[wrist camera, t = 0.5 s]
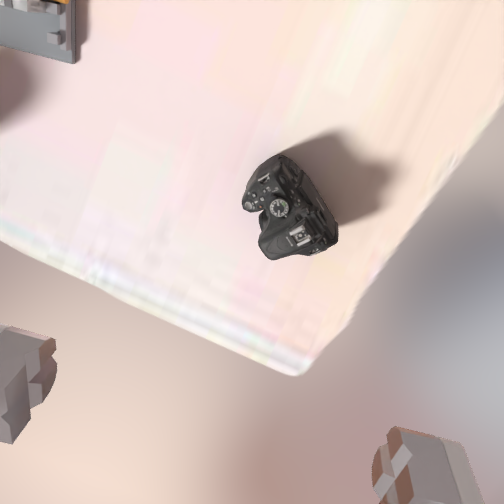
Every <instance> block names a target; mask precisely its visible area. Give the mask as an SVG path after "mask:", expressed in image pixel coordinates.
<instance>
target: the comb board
mask: <svg viewBox="0 0 504 504" xmlns="http://www.w3.org/2000/svg"><path fill="white" fill-rule="evenodd" d="M44 1H48V2H46V12H48V13H35V12H25V11H22V10H18V9H14V8H10V7H6V6H3V5H0V45H2V46H5V47H9V48H13V49H17V50H21V51H24V52H28V53H32V54H36V55H40V56H43V57H47V58H51V59H55V60H59V61H62V62H66V63H70V64H75V0H44Z"/></svg>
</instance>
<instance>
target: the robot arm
mask: <svg viewBox="0 0 504 504" xmlns="http://www.w3.org/2000/svg"><path fill="white" fill-rule="evenodd" d="M55 351H56V341H55V339H53V338H51V337H48V336H44V335H41V334H37V333H34V332H30V331H27V330H23V329H20V328H16V327H13V326H9V325H5V324H1V323H0V442H4V443H8V444H13V443H14V441H15V440H16V438H17V437H18V436H19V434H20V433H21V432H22V430H23V429H24V427H25V426H26V425H27V423H28V422H29V421H30V419H31V414H30V409H31V408H33V407H35V406H36V405H38V404H40V403H42V402H43V401H44V400H45V398H46V397H47V395H48V394H49V392H50V390H51V388H52V386H53V384H54V381H55V378H56V373H57V363H56V361H55V360H54V359H53V358H52V354H53V353H54V352H55ZM386 436H387V441H388V443H387V444H385V445H382V446H380V447H379V448H378V450H377V452H376V454H375V456H374V459H373V464H372V485H373V489H374V491H375V492H376V494H377V495H378V496H379V498H380V500H381V501H380V502H379V504H485V503H484V501H483V498H482V495H481V493H480V490H479V487H478V484H477V482H476V479H475V476H474V474H473V471H472V468H471V465H470V463H469V460H468V457H467V455H466V452H465V449H464V447H463V446H462V445H461V443H459V442H456V441H452V440H448V439H444V438H441V437H436V436H434V435H430V434H425V433H422V432H418V431H413V430H409V429H405V428H401V427H397V426H394V427H393V428H391V429H390V430H389V432H388V434H387V435H386Z"/></svg>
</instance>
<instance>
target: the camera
mask: <svg viewBox="0 0 504 504" xmlns="http://www.w3.org/2000/svg"><path fill="white" fill-rule="evenodd" d="M242 206H243V209H244V210H246V211H248V212H250V213H251V212H257V211H261V210H263V209H264V210H263V212H262V213H261V214H260V215H259V224H260V228H261V231H262V232H261V234H260V236H259V240H258V244H259V247H260V249H261V250H262V252H263V253H264V255H265V256H266V257H267V258H268V259H270V260H277V259H280V258H283V257H287V256H290V255H296V254H300V255H306V256H312V255H314V254H317V253H320V252H322V251H325V250H327V248H329V247H331V246H333V245H335V244H336V243H337V242H338V224H337V222H335V220H334V218H333V216H332V215H331V213H330V211H329V210H328V208H327V207H326V205H325V203H324V202H323V200H322V198H321V197H320V195H319V194H318V192H317V190H316V189H315V187H314V186H313V184H312V182H311V181H310V179H309V178H308V176H307V175H306V174H305V173H304V172H303V170H300V169H299V167H298V166H297V165H296V164H295V163H294V162H293V161H292V160H290V159H288V158H287V157H285V156H283V155H276V156H273V157H271V158H270V159H268V160H266V161H265V162H264V163H262V164H261V165H260V166H259V167H258V168H257V169H256V170H255V172H254V173H253V175H252V176H251V178H250V180H249V181H248V183H247V186H246V191H245V193H244V195H243V198H242Z"/></svg>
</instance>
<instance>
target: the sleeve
mask: <svg viewBox="0 0 504 504" xmlns="http://www.w3.org/2000/svg"><path fill="white" fill-rule="evenodd" d="M46 2H48V1H44V0H0V5H3V6H6V7H10V8H14V9H18V10H22V11H25V12H35V13H48V12H46Z"/></svg>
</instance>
